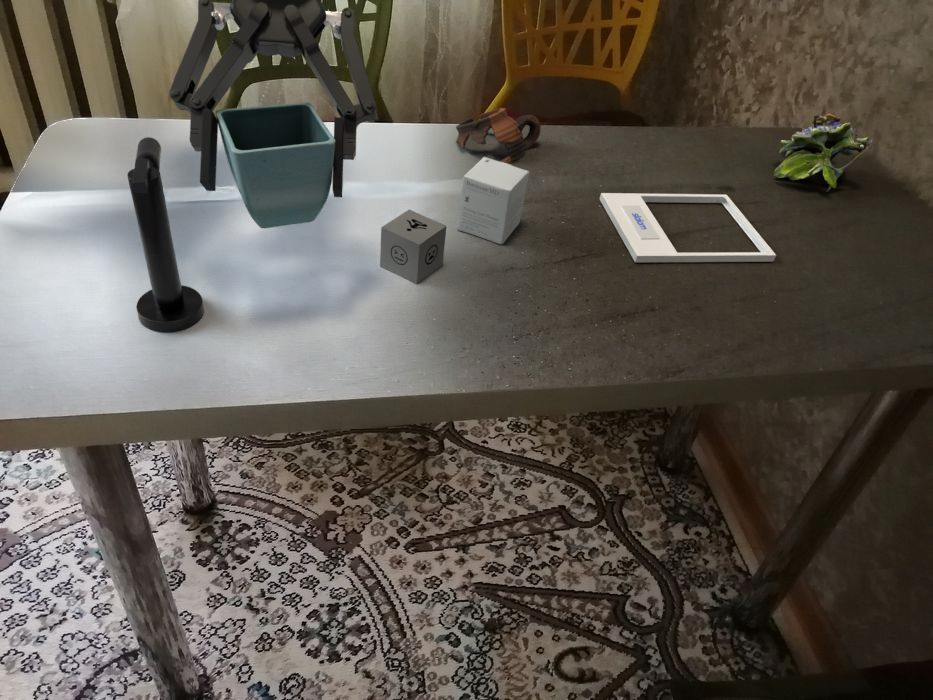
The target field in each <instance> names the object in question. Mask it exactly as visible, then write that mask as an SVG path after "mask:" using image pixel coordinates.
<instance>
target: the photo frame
mask: <svg viewBox="0 0 933 700" xmlns="http://www.w3.org/2000/svg"><path fill="white" fill-rule="evenodd" d="M599 201H600V203H601V205H602V207H603V208H604V210H605V212H606V214H607V215H608V218H609V219H610V220H611V223H612V224H613V226H614V228H615V229H616V232H617V233H618V235H619V236H620V239H621V240H622V242H623V244H624V245H625V247H626V249H627V250H628V252H629V254H630V256H631V258H632V260H633V261H634V263H750V262H752V263H755V262H756V263H765V262H770V263H773V262H774V261H775V259H776V257H777V254H776V253H775V252H774V250H773V249H772V248H771V247H770V245H768V243H767V242H766V240H764V238H763V237H762V236H761V235H760V233H759V232H758V231H757V230H756V229H755V227H754V226H753V225H752V223H750V221H749V220H748V218H747V217H746V216H745V215H744V214H743V212H742V211H741V210H740V209H739V208H738V207H737V206H736V204H735V203H734V201H733V200H732V199H731V198H730V196H728V195H727V194H713V193H712V194H711V193H710V194H709V193H708V194H706V193H705V194H704V193H634V192H633V193H630V192H629V193H625V192H624V193H623V192H617V193H616V192H601V193H600V196H599ZM646 203H677V204H678V203H684V204H686V203H687V204H688V203H689V204H692V203H693V204H694V203H695V204H699V203H700V204H722V205H723V207H724V208H725V209H726V210H727V211H728V213H729V214H730V215H731V217H732V218H733V219H734V221H735V222H736V223H737V224H738V225H739V227H740V228H741V229H742V231H743V232H744V234H746V235H747V237H748V238H749V239H750V240H751V241H752V243H753V244H754V245H755V247H756V248H757V249H758V251H757V252H756V251H753V252H751V251H750V252H748V251H747V252H742V251H741V252H737V251H736V252H731V251H729V252H718V251H717V252H678V251H677V250H676V248H675V247H674V245H673V244H672V242H671V240H670V239H669V237H668V236H667V234H666V233H665V231H664V230H663V228H662V226H661V225H660V223H659V222H658V220H657V219H656V217H655V216H654V215H653V213H652V211H651V210H650V208H649V207H648V205H647V204H646Z"/></svg>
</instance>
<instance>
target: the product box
mask: <svg viewBox="0 0 933 700" xmlns="http://www.w3.org/2000/svg"><path fill="white" fill-rule="evenodd" d="M499 161H500V160H495V159H492V158H490V157H486V156H483V157H482V158H481V159H480V160H479V161H478V162H477V163H476V164H475V165H474V166H473V167H472V168H471V169H470V170H468V171H467V173H465V174H464V175H463V178H462V188H461V194H460V202H459V211H458V219H457V220H458V221H457V230H458V231H460V232H464V233H467V234H470V235H473V236H476V237H478V238H481V239H485V240H487V241H489V242H492V243H495V244H498V245H504V244H505V242H506V241H507V239H508V238H509V237H510V235H511V234H512V233H513V232H514V231H515V229H516V228H517V227H518V226H519V225H520V223H521V218H522V212H523V209H524V203H525V198H526V193H527V186H528V181H529V176H530V171H529V170H526V169H524V168H521V167H517V166H514V165H512V164H507V163H503V162H499Z"/></svg>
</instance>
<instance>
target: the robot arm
mask: <svg viewBox="0 0 933 700" xmlns="http://www.w3.org/2000/svg"><path fill="white" fill-rule="evenodd" d="M355 13H356V12H355V11H354V9H353V8H351V7H347V6H346V7H343V9H342V10H341V12H340V11H333V10H332V11H330V10H326V8H325V6H324V4H323V0H231V1H230V2H220V1H219V2H217V1H213V0H198V2H197V22H196V24H195V27H194V30H193V32H192V34H191V36H190V38H189V41H188V44H187V46H186V48H185V51H184V53H183V56H182V59H181V60H180V63H179V65H178V68H177V70H176V73H175V76H174V77H173V80H172V82H171V85H170V87H169V90H168V96H169V98H170V99H171V101H172V102H173V103H174V105H175V106H176V108H177V109H178V110H180V111H186V112H188V113H190V119H189V121H190V123H189V124H190V125H189V142H190V146H191V147H192V149H193V150H194V151H195V152H200V171H199V183H200V184H201V186H202V187H203V188H204V189H205V191H206V192H216V183H217V159H218V136H219V135H218V134H219V130H218V129H219V125H218V121H217V117H216V114H215V113H214V111H215V109H216V107H217V106H218V105H219V103H220V102H221V101H222V99H223V97H225V95H226V94H227V93H228V91H229V90H230V89H231V87H232V86H233V84H234V83H235V82H236V81H237V79H238V77H239V76H240V75H241V73H242V72H243V70H244V69H245V68H246V66H247V65H248V64H251V63H252V62H253V61H254V59H255V58H256V57H257V55H258V54H259V53H260V54H261V56H266V57H272V56H278V55H280V56H283V57H286V58H296V59H297V56H300V55H301V56H302V57H303V59H304V61H305V63H306V64H307V66H308V67H309V68H310V69H311V71H312V72H313V74H314V76H315V78H316V79H317V81H318V83H319V84H320V86H321V87H322V89H323V91H324V92H325V94H326V96H327V97H328V99H329V101H330V102H331V104H332V106H333V107H334V109H335V111H336V112H337V114H338V116H339V117H337V116H335V117H334V119H333V121H334V122H333V137H334V139H335V151H334V161H333V171H332V185H331V186H332V193H333V198H343V187H344V186H343V185H344V161H345V160H346V161H354V160H355V158H356V155H357V129H358V126H359V125H361V124H362V123H366V122H368V123H372V122H374V121H375V120H376V119H377V102H376V99H375V96H374V93H373V90H372V86H371V82H370V80H369V76H368V73H367V70H366V67H365V64H364V61H363V57H362V55H361V51H360V48H359V45H358V41H357V38H356V14H355ZM229 20H233V21H234V23H235V24H236V26H237V28H238V30H237V31H236V33H235V34H234V35H233V38H232V41H231V44H230V45H229V46H228V47H227V49H226V50H225V51H224V53H223V54H222V55H221V56H220V58H219V59H218V60H217V62H216V64H215V65H214V66H213V68H212V69H211V70H210V71H209V73H208V74H207V76H206V77H205V78H204V80H203V81H202V82H201V79H202V76H203V74H204V71H205V69H206V67H207V64H208V62H209V59H210V57H211V54H212V51H213V49H214V47H215V44H216V42H217V38H218V32H219V31H223V29H224V28H225V26H226V23H227V21H229ZM326 27H328V28H329V29H331V31H332V35H333V37H335V38H336V39H338V40H341V49H342V52H343V55H344V58H345V62H346V65H347V68H348V71H349V72H348V73H349V74H350V78H351V81H352V85H353V87H354V91H355V94H356V98H357V100H358V103H357V104H353V102H352V101H351V99H350V97H349V96H348V94H347V92H346V90H345V89H344V87H343V85H342V84H341V82H340V81H339V78H338V77H337V75H336V74H335V71H334V70H333V69H332V67H331V65H330V63H329V62H328V60H327V59H326V57H325V56H324V54H323V52H322V51H321V48H320V46H319V44H318V41H317V40H316V39H317V38H318V36H319V35H320V34H321V33H322V32H323V31H324V30H325V28H326ZM200 82H201V84H200ZM199 84H200V85H199ZM198 86H199V87H198Z"/></svg>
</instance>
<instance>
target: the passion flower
mask: <svg viewBox="0 0 933 700" xmlns="http://www.w3.org/2000/svg"><path fill="white" fill-rule="evenodd" d="M841 120H842V117H841V116H835V114H831V113H827V114H826V115H825V116H824V115H821V114H817V113H816V114H814V115H813V119H812V121H811V123H812V125H813V126H808V127H807V128H803V127H801V129H802V130H801V131H795V133H793V134H792V135H791V139H789V140H783V139H782V140H780V144H781V145H782V147H781V148H780V150H779V151H778V154H782V153H784V152H786V151H787V152H786V153H785V156H784V157H785V159H784V160H783V161H782V162H781V163H780V164H779V165H778V166H777V167H776V168H775V169H774V171H773V177H774V176H776V177H777V178H776V179H783V178H784V179H785V178H787V179H789V180H791V181H800V180H803V179H806V178H808V177H811V176H813V175H816V174H818V173H819V172H821V171H822V176H823V178H824V181H826V183H827V184H828V187H827V189H826V191H825V193H826V192H829V191H830V190H831V189H832V188H833V189H836V188H837V180H838V178H839V177H840V176H842V174H844V173H845V170H846V169H847V168H848V167H850V166H851V165H852V164H853V163H854V162H855V161H856V160H858V159H859V158H860V157H861V156H863V155H864V154H866V153H867V152H868V151H869V150H870V149H872V148H873V147H872V146H873V140H874V139H873V138H872V139H870V138H869V137H864V138H858V133H859V131H858V129H857V128H856V127H854V126H853V125H852V124H851V122H849V121H848V122H845V123H841ZM855 139H856V141H855ZM869 140H870V141H869ZM853 151H857V152H858V154H857V155H856V156H855V157H854V158H852V159H851V160H850V161H849V162H848V163H846V164H845V165H844V166H841V167H835V166H834V165H833V163H832V161H833V159H834V158H835V157H836V156H837V155H839V154H842V155H845V156H852V155H853Z"/></svg>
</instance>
